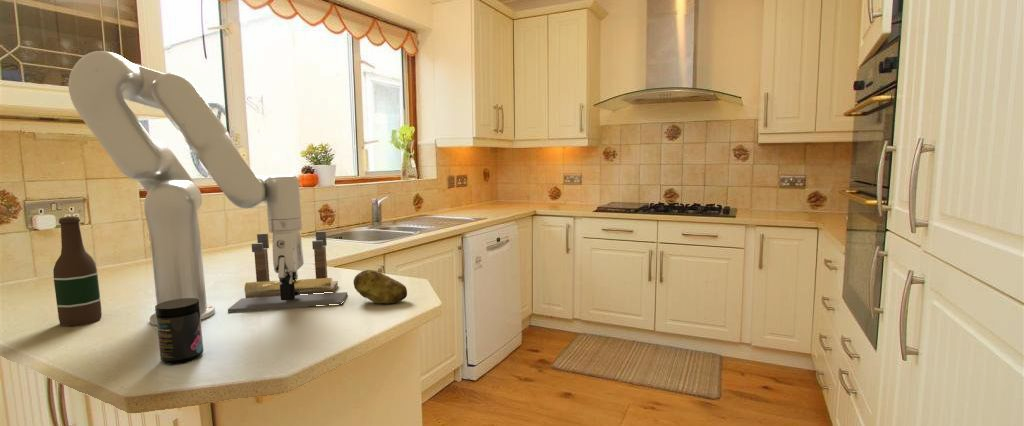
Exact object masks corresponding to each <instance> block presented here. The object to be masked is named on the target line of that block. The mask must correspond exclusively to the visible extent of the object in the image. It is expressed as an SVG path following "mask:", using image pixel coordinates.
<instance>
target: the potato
mask: <svg viewBox="0 0 1024 426" xmlns="http://www.w3.org/2000/svg"><path fill="white" fill-rule="evenodd" d="M353 286H354V289H355V290H356V292H357V293H359V295H360V296H362V297H363V298H365V299H368V300H369V301H371V302H372V303H374V304H378V303H391V304H395V302H396V303H400V302H402V301H403V300H405V299H406V298H407V297H408V290H407V287H406V285H405V284H403V283H402V282H400V281H398V280H396V279H393V278H391V277H390V276H388V275H387V274H383V273H381V272H380V271H378V270H374V269H373V270H372V269H367V270H362V271H360V272H359V273H358V274H356V275H355V276H354V278H353ZM399 301H400V302H399Z"/></svg>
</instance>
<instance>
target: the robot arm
mask: <svg viewBox="0 0 1024 426" xmlns="http://www.w3.org/2000/svg"><path fill="white" fill-rule="evenodd" d="M68 94H69V96H70V100H71V102H72V104H73V106H74V110H75V111H76V112H77V114H78V115H79V117H80V118H81V119H82V121H83V122H84V123H85V125H86V127H87V128H88V129H89V130H90V132H92V134H93V135H94V137H95V138H96V140H97V141H98V143H99V144H100V146H101V147H102V148H103V150H104V151H105V152H106V153H107V155H108V156H109V157H110V159H111V160H112V161H113V163H114V164H115V166H116V167H117V169H118V170H119V171H120V172H121V174H123V175H124V177H127V178H129V179H131V180H135V181H138V182H139V184H140V185H141V186H142V188H143V189H144V190H145V192H146V195H145V199H144V203H143V207H144V215H145V216H144V217H145V220H146V224H147V225H146V226H147V231H148V235H149V243H150V253H151V254H150V255H151V261H152V270H153V271H152V272H153V280H154V291H155V301H156V305H157V304H159V303H162V302H165V301H170V300H175V299H182V298H196V299H199V304H200V317H201V320H204V319H207V318H209V317H211V316H213V315H214V314H215V312H216V310H215V309H216V308H215V306H213V305H211V304H208V303H207V295H206V293H207V291H206V283H205V273H204V272H205V271H204V260H203V249H202V240H201V238H202V237H201V232H200V231H201V230H200V226H199V225H200V224H199V216H198V211H199V210H200V208H201V206H202V202H203V201H202V200H203V196H202V193H201V190H200V188H199V187H198V185H197V184H196V183H195V181H194V180H193V178H192V177H191V175H190V173H188V171H187V170H186V168H185V167H184V166H183V164H182V163H181V162H180V160H179V159H178V158H177V156H176V155H175V154H174V152H173V151H172V150H171V149H170V148H169V147H168V146H167V145H166V144H164V143H163V142H161V141H159V140H157V139H154V138H153V137H152V136H151V135H150V134H149V132H148V131H147V129H146V128H145V127H144V126H143V124H142V123H141V122H140V120H139V117H137V115H136V114H135V113H134V111H132V109H131V108H130V107H129V106H128V104H127V103H126V101H129V102H133V103H135V104H136V103H137V104H139V105H144V106H147V107H150V108H154V109H158V110H161V111H162V112H163V114H164V115H165V116H166V118H167V119H168V120H169V121H170V123H171V124H172V125H173V126H174V127H175V129H176V130H177V132H178V133H179V135H180V136H181V137H182V139H183V140H184V141H185V142H186V144H187V145H188V146H189V148H190V149H191V151H192V153H193V155H195V157H196V158H197V159H198V160H199V161H200V162H201V164H202V165H203V168H204V169H205V170H206V171H207V173H208V174H209V175H210V177H211V178H212V180H213V181H214V182H215V183H216V185H217V186H218V187H219V189H220V190H221V191H222V192H223V194H224V196H226V198H227V199H228V201H230V202H231V203H232V204H233V205H234V206H235V207H238V208H240V209H244V210H245V209H253V208H255V207H257V206H258V205H260V204H266V212H267V213H266V214H267V227H268V234H269V233H270V234H272V241H271V243H272V264H273V271H274V273H276V274H278V275H277V277H278V281H279V282H280V295H281V300H294V299H295V296H297V295H298V294H299V292H295V289H294V283H293V280H299V279H298V278H299V277H298V276H299V275H298V274H299V273H298V271H299V269H300V268H301V267H303V266H304V263H305V262H304V253H303V252H304V251H303V243H302V236H301V231H302V230H303V227H302V226H303V224H302V210H301V208H302V206H301V193H300V192H301V191H300V179H299V178H298V177H297V175H293V174H276V175H275V174H274V175H269V176H268V175H267V176H264V175H255V172H253V170H252V169H251V167H249V165H248V164H247V162H246V160H244V157H243V156H242V155H241V153H240V152H239V150H238V149H237V148H236V146H235V144H234V142H233V139H232V137H231V134H230V132H229V131H228V130H227V128H226V126H225V125H224V124H223V122H222V121H221V120H220V119H219V117H218V116H217V114H216V113H215V111H214V110H213V109H212V107H211V106H210V105H209V104H208V102H207V101H206V99H205V98H204V96H203V95H202V94H201V93H200V89H199V87H198V86H197V85H196V84H195V83H194V82H193V81H192V80H191V79H190V78H189V77H187V76H185V75H183V74H181V73H177V72H167V73H164V72H160V71H156V70H154V69H151V68H147V67H144V66H141V65H139V64H135V63H133V62H131V61H129V60H128V59H126V58H124V57H123V56H121V55H120V54H118V53H115V52H111V51H107V50H105V51H104V50H97V51H96V50H95V51H91V52H89V53H87V54H84V55H82V57H80V58H79V59H78V61H76V63H75V64H74V65H73V67H72V69H71V71H70V74H69V76H68ZM125 100H126V101H125ZM149 323H150V324H152V325H154V326H157V320H156V312H154V313H153V314H151V315H150V317H149Z"/></svg>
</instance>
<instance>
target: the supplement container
mask: <svg viewBox="0 0 1024 426" xmlns="http://www.w3.org/2000/svg"><path fill="white" fill-rule="evenodd" d="M154 311H155V312H154V313H156V320H157V325H156V327H157V338H158V347H159V349H158V350H159V357H160V361H161V362H162V363H163V364H165V365H182V364H186V363H189V361H190V362H192V360H193V361H195V360H197V359H198V358H200V357H202V355H203V354H204V342H203V331H202V330H203V329H202V319H201V317H200V304H199V299H196V298H182V299H175V300H170V301H165V302H162V303H159V304H157V303H156V305H155V306H154ZM181 363H182V364H181Z"/></svg>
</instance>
